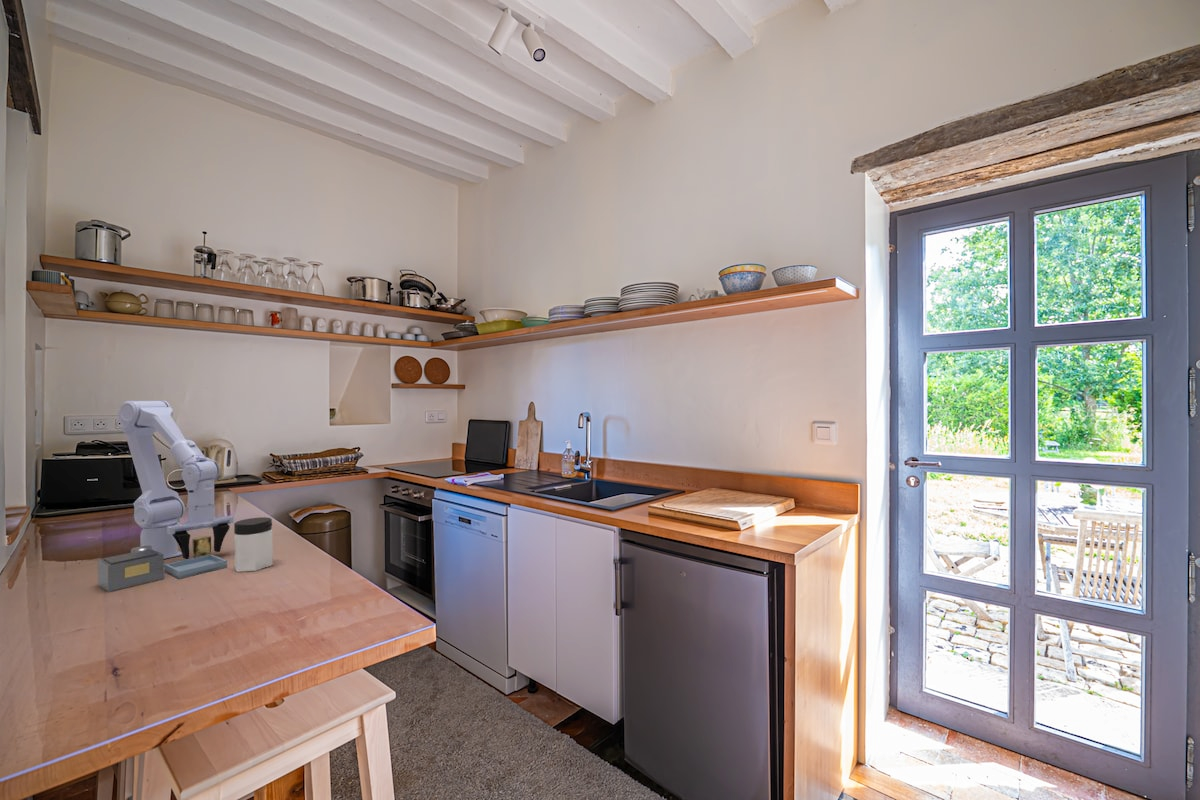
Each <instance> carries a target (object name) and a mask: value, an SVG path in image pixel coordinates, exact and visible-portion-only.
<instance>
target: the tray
mask: <svg viewBox="0 0 1200 800" xmlns="http://www.w3.org/2000/svg"><path fill="white" fill-rule="evenodd" d="M225 568H228V560H227V559H224V558H222V557H220V556H216V555H214V554H212V553H211V554H210V555H205V556H201V557H196V558H193V557H191V558H189V559H183V560H178V561H174V562H171V563H170V562H169V563H164V573H166V574H169V575H171V576H173V577H175V578H176V579H179V580H180V579H184V578H189V577H193V576H197V575H200V574H201V575H202V574H204V573H205V574H206V573H208V572H213V571H218V570H221V569H225Z"/></svg>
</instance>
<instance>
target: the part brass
mask: <svg viewBox="0 0 1200 800" xmlns="http://www.w3.org/2000/svg"><path fill="white" fill-rule="evenodd" d="M191 542H192V547H191V548H192V558H196V557H201V556H205V555H210V554H212V536H210V535H207V536H198V537H194V538H192V541H191Z"/></svg>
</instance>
